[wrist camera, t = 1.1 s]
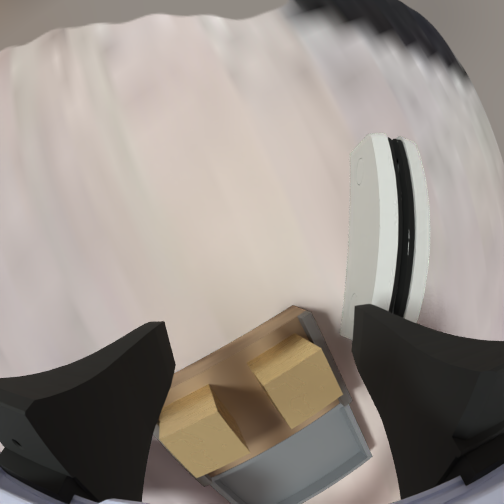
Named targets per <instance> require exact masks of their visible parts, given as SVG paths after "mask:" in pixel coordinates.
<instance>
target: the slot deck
mask: <svg viewBox="0 0 504 504" xmlns="http://www.w3.org/2000/svg"><path fill="white" fill-rule="evenodd" d="M294 333H295V334H297V335H299V336H301V337H302V338H304V339H306V340H308V341H309V342H311V343H313V344H314V345H316V346H318V347H320V348H321V349H322V351H323V353H324V355H325V357H326V359H327V361H328V364H329V366H330V368H331V370H332V372H333V374H334V376H335V378H336V380H337V382H338V385H339V387H340V389H341V391H342V393H343V395H342V396H340V397H339V398H337V399H336V400H335V401H333V402H332V403H330V404H329V405H328V406H326V407H325V408H323V409H322V410H320V411H319V412H318V413H316V414H315V415H313V416H312V417H310V418H309V419H307V420H306V421H304V422H302V423H301V424H299V425H298V426H296V427H295V428H293V429H291V428H290V427H289V425H288V424H287V423H286V422H285V420H284V419H283V418H282V416H281V415H280V414H279V412H278V411H277V410H276V408H275V407H274V406H273V404H272V403H271V402H270V400H269V398H268V397H267V395H266V394H265V392H264V391H263V389H262V387H261V386H260V384H259V383H258V381H257V379H256V378H255V376H254V375H253V373H252V371H251V370H250V368H249V367H248V365H247V362H249V361H250V360H252V359H254V358H255V357H257V356H259V355H260V354H262V353H264V352H265V351H267V350H269V349H270V348H272V347H274V346H275V345H277V344H278V343H280V342H282V341H283V340H285V339H286V338H288V337H289V336H291V335H293V334H294ZM208 384H209V385H210V387H211V388H212V389H213V391H214V392H215V394H216V395H217V397H218V398H219V399H220V401H221V402H222V404H223V405H224V406H225V408H226V409H227V410H228V412H229V413H230V415H231V416H232V417H233V419H234V420H235V421H236V423H237V425H238V427H239V429H240V431H241V434H242V436H243V438H244V440H245V442H246V444H247V447H248V449H249V451H250V453H249V454H247V455H245V456H243V457H241V458H239V459H237V460H235V461H233V462H231V463H229V464H227V465H225V466H223V467H221V468H219V469H217V470H214V471H212V472H210V473H208V474H205V475H203V476H201V477H198V478H196V477H195V476H194V475H193V474H192V473H191V472H190V471H189V470H188V469H187V468H186V467H185V466H184V465H183V464H182V463H181V462H180V461H179V460H178V459H177V458H176V457H175V456H174V455H173V454H172V453H171V452H170V451H169V450H168V449H167V448H166V446H165V445H164V444H163V443H162V442H161V441H160V440H159V428H160V416H159V419H158V421H157V424H156V426H155V429H154V433H153V435H154V436H155V437H156V438H157V440H158V441H159V442H160V443H161V444H162V445H163V446H164V447H165V448H166V450H167V451H168V452H169V453H170V454H171V455H172V456H173V457H174V458H175V459H176V460H177V461H178V462H179V463H180V464H181V465H182V466H183V467H184V468H185V469H186V470H187V471H188V472H189V473H190V474H191V475H192V476H193V477H194V478H195V479H196V480H197V481H198V482H199V483H200V484H202V485H203V486H204V487H205V486H208V485H210V484H213V483H212V479H211V477H214V476H216V475H218V474H220V473H222V472H225V471H227V470H229V469H231V468H233V467H235V466H237V465H239V464H241V463H243V462H245V461H247V460H249V459H251V458H253V457H255V456H257V455H259V454H260V453H262V452H264V451H266V450H268V449H269V448H271V447H273V446H275V445H277V444H278V443H280V442H282V441H283V440H285V439H287V438H288V437H290V436H292V435H293V434H295V433H296V432H298V431H300V430H301V429H303V428H304V427H306V426H307V425H309V424H311V423H312V422H314V421H315V420H317V419H318V418H319V417H321V416H322V415H324V414H325V413H327V412H328V411H330V410H331V409H332V408H334V407H335V406H337V405H338V404H339V403H341V404H342V405H343V406H344V407H345V406H347V405H348V404H349V403H351V402H352V399H351V396H350V394H349V392H348V390H347V388H346V385H345V383H344V381H343V379H342V377H341V374H340V372H339V370H338V368H337V366H336V364H335V362H334V359H333V357H332V355H331V353H330V351H329V349H328V347H327V344H326V342H325V340H324V338H323V336H322V334H321V332H320V330H319V328H318V325H317V323H316V321H315V319H314V317H313V315H312V313H311V312H309V311H306V310H304V309H301V308H298V307H296V306H293V305H292V306H291V307H289V308H288V309H286V310H284V311H283V312H281V313H280V314H278V315H276V316H275V317H273V318H271V319H270V320H268V321H266V322H265V323H263V324H262V325H260V326H258V327H256V328H255V329H253V330H251V331H250V332H248V333H246V334H245V335H243V336H241V337H239V338H238V339H236V340H234V341H233V342H231V343H229V344H227V345H226V346H224V347H222V348H220V349H218V350H217V351H215V352H213V353H211V354H209V355H208V356H206V357H204V358H202V359H200V360H198V361H197V362H195V363H193V364H191V365H189V366H187V367H185V368H184V369H182V370H180V371H178V372H176V373H174V375H173V380H172V384H171V387H170V390H169V392H168V395H167V398H166V400H165V403H164V406H167V405H169V404H171V403H173V402H175V401H177V400H179V399H181V398H183V397H185V396H187V395H189V394H191V393H192V392H194V391H196V390H198V389H200V388H202V387H204V386H206V385H208ZM164 406H163V407H164Z"/></svg>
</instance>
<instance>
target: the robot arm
mask: <svg viewBox="0 0 504 504" xmlns="http://www.w3.org/2000/svg"><path fill="white" fill-rule="evenodd" d="M352 353H353V357H354V360H355V363H356V366H357V369H358V372H359V374H360V376H361V378H362V380H363V382H364V384H365V386H366V388H367V390H368V392H369V394H370V396H371V398H372V400H373V402H374V404H375V406H376V408H377V410H378V412H379V414H380V417H381V419H382V422H383V425H384V428H385V431H386V434H387V438H388V441H389V445H390V448H391V452H392V456H393V460H394V464H395V469H396V473H397V478H398V483H399V490H400V496H401V500H399V501H396V502H393V503H390V504H504V341H487V340H477V339H471V338H465V337H459V336H454V335H450V334H447V333H443V332H439V331H436V330H433V329H430V328H427V327H425V326H422V325H419V324H417V323H414V322H412V321H409V320H407V319H405V318H402V317H400V316H398V315H396V314H394V313H391V312H389V311H387V310H385V309H383V308H380V307H378V306H375V305H372V304H364V305H357V306H355V308H354V326H353V341H352ZM175 365H176V364H175V361H174V357H173V353H172V350H171V346H170V342H169V338H168V334H167V330H166V326H165V322H164V321H162V322H148V323H146V324H144V325H142V326H140V327H138V328H137V329H135V330H133V331H132V332H130V333H128V334H127V335H125V336H123V337H122V338H120V339H118V340H117V341H115V342H113V343H112V344H110V345H108V346H106V347H104V348H103V349H101V350H99V351H97V352H95V353H93V354H91V355H89V356H87V357H85V358H83V359H80V360H78V361H76V362H73V363H71V364H68V365H65V366H62V367H59V368H56V369H52V370H49V371H46V372H41V373H37V374H32V375H26V376H20V377H10V378H0V442H1V443H2V445H3V446H4V447H5V448H4V449H3V451H2V452H0V504H148V503H143V502H142V493H143V484H144V476H145V470H146V464H147V459H148V453H149V449H150V444H151V440H152V436H153V433H154V429H155V426H156V424H157V421H158V419H159V416H160V413H161V411H162V408H163V406H164V403H165V400H166V398H167V395H168V392H169V390H170V387H171V384H172V380H173V375H174V370H175Z"/></svg>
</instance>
